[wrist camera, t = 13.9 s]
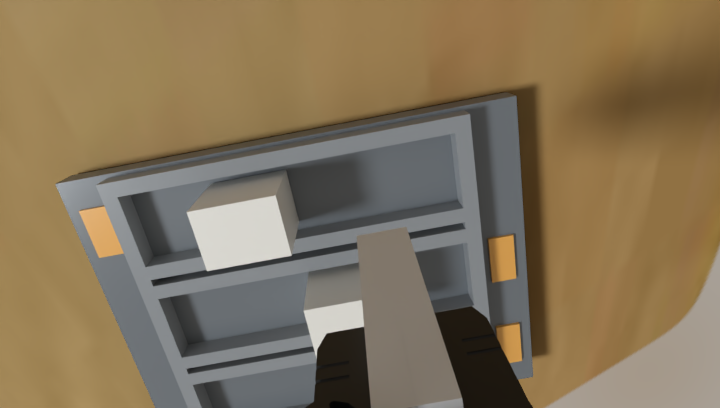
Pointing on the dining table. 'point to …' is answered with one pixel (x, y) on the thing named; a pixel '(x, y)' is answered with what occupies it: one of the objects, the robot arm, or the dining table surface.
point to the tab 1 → (245, 220)
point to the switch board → (306, 245)
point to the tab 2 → (333, 301)
